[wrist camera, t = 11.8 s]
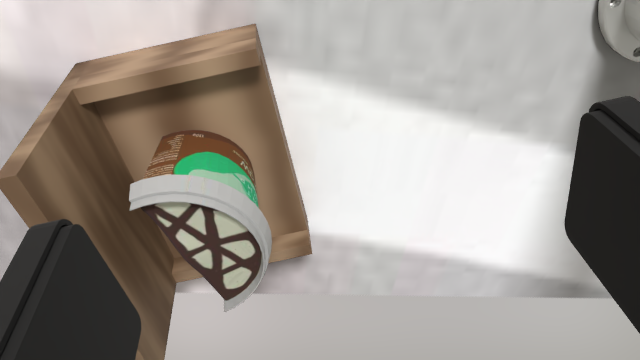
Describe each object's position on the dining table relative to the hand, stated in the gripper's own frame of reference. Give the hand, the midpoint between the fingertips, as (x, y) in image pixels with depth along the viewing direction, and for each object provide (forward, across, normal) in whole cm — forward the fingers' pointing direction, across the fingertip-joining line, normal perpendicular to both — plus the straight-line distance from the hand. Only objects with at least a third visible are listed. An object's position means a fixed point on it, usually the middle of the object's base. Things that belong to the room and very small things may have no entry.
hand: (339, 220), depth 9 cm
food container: (+28, +8, +16) cm, 33 cm away
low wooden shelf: (+30, +10, +16) cm, 36 cm away
